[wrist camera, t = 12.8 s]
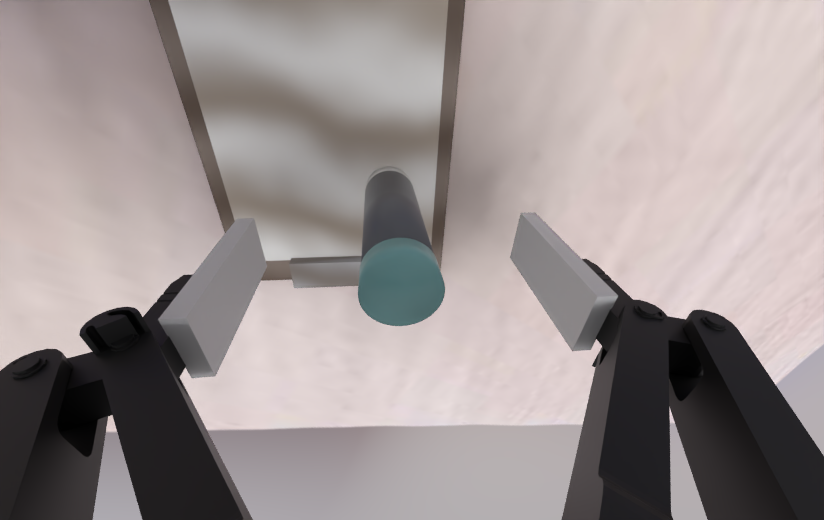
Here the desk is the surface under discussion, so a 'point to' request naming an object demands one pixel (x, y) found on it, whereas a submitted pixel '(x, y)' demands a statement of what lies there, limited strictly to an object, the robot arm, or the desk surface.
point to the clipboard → (316, 116)
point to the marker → (396, 254)
